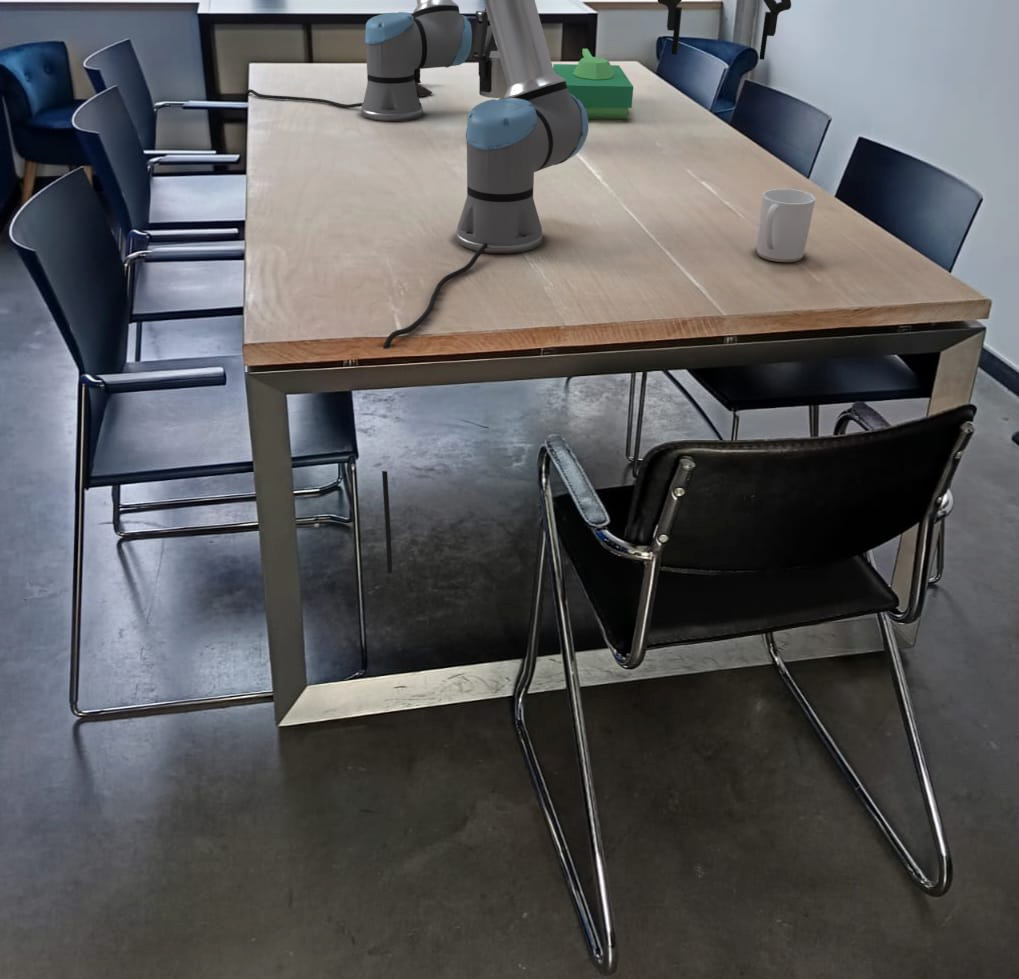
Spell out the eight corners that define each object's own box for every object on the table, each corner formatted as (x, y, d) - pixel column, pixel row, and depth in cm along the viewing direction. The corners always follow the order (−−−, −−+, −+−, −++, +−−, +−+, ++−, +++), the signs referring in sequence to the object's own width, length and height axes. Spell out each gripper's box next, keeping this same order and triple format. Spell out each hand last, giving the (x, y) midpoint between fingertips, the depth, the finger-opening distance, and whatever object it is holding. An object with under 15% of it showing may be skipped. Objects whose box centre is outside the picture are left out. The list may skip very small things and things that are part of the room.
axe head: (443, 87, 294) (392, 77, 287) (436, 115, 299) (385, 106, 292) (421, 62, 307) (371, 52, 300) (414, 89, 311) (365, 80, 304)
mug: (769, 242, 197) (777, 185, 192) (814, 254, 192) (824, 196, 187) (738, 258, 190) (746, 199, 184) (785, 270, 185) (795, 210, 180)
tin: (517, 90, 257) (518, 51, 252) (517, 98, 249) (517, 58, 245) (480, 89, 257) (480, 50, 252) (478, 97, 249) (478, 57, 245)
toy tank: (616, 45, 298) (634, 70, 268) (612, 92, 304) (630, 122, 275) (551, 43, 297) (563, 69, 267) (549, 91, 303) (560, 121, 274)
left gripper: (481, -13, 231) (480, 98, 243) (543, -22, 246) (539, 83, 257) (454, -17, 235) (455, 92, 247) (517, -25, 250) (514, 79, 261)
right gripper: (821, -96, 162) (798, 55, 173) (653, -102, 166) (641, 46, 177) (822, -93, 156) (799, 64, 167) (647, -99, 160) (636, 54, 171)
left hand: (498, 88), depth 252 cm, fingers closed on tin, 9 cm apart
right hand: (717, 55), depth 172 cm, fingers open, 13 cm apart
